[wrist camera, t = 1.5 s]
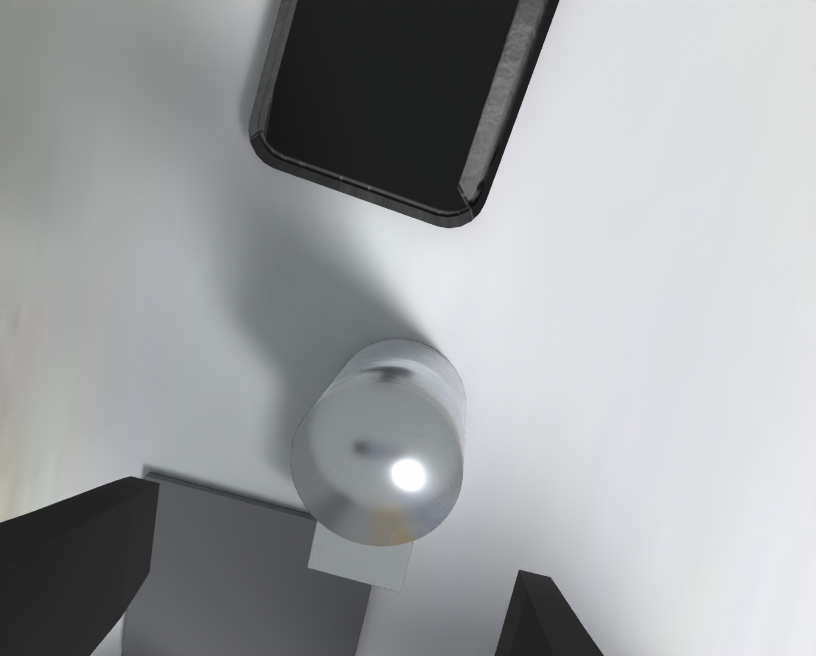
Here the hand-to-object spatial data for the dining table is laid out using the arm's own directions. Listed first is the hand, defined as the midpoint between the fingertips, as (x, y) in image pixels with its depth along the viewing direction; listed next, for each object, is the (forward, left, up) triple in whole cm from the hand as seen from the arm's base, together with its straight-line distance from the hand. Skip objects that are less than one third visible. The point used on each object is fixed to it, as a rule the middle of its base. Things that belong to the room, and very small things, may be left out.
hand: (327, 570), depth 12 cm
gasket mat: (+4, +9, -10) cm, 14 cm away
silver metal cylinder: (0, +1, -10) cm, 10 cm away
